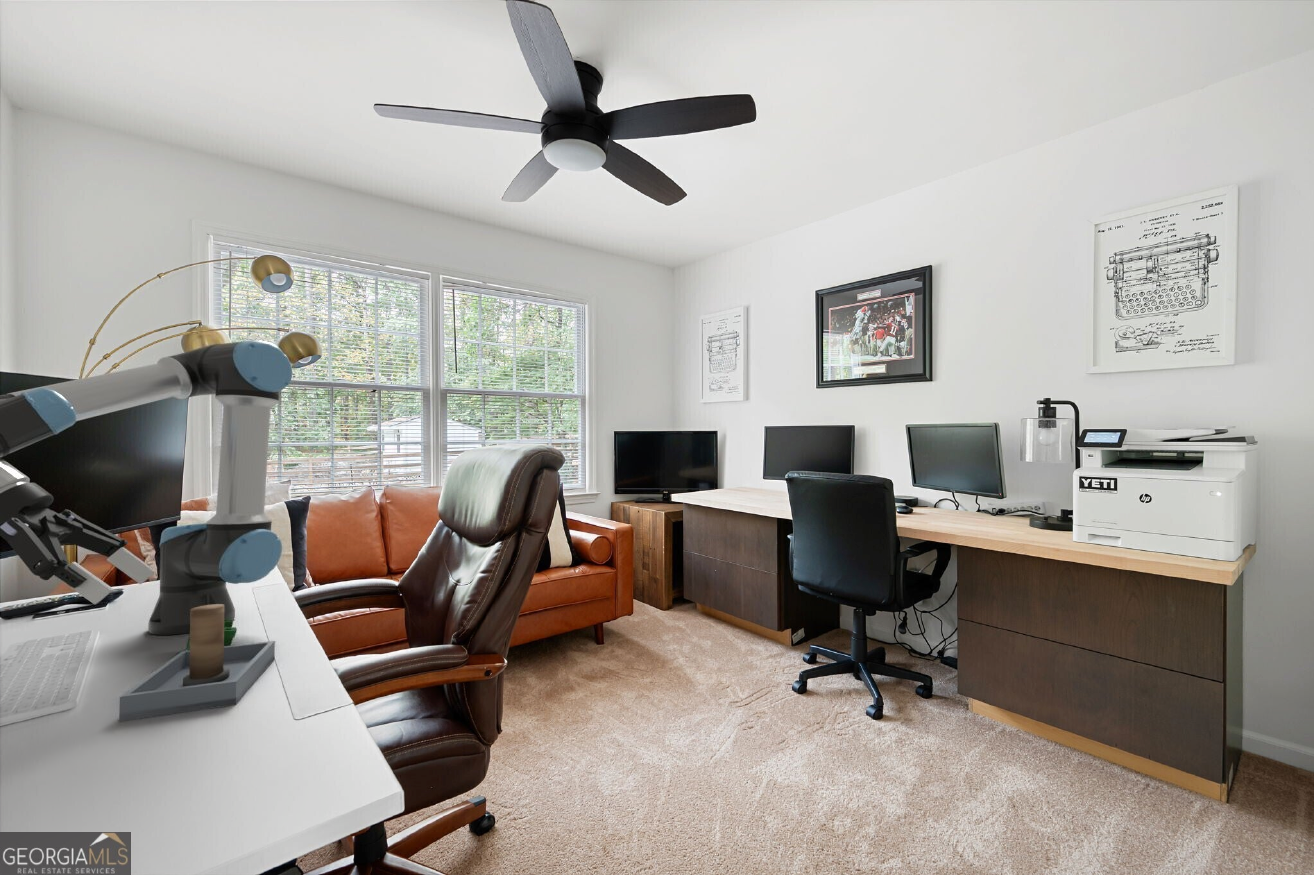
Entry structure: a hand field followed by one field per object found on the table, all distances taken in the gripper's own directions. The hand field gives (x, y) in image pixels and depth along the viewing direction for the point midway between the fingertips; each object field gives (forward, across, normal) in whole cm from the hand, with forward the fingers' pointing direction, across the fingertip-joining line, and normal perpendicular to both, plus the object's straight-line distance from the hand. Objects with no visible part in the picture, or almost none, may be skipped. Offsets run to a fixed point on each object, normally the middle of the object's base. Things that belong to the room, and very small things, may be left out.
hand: (128, 586), depth 89 cm
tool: (+19, +2, -3) cm, 20 cm away
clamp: (+16, -18, -9) cm, 26 cm away
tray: (+20, +2, -4) cm, 21 cm away
